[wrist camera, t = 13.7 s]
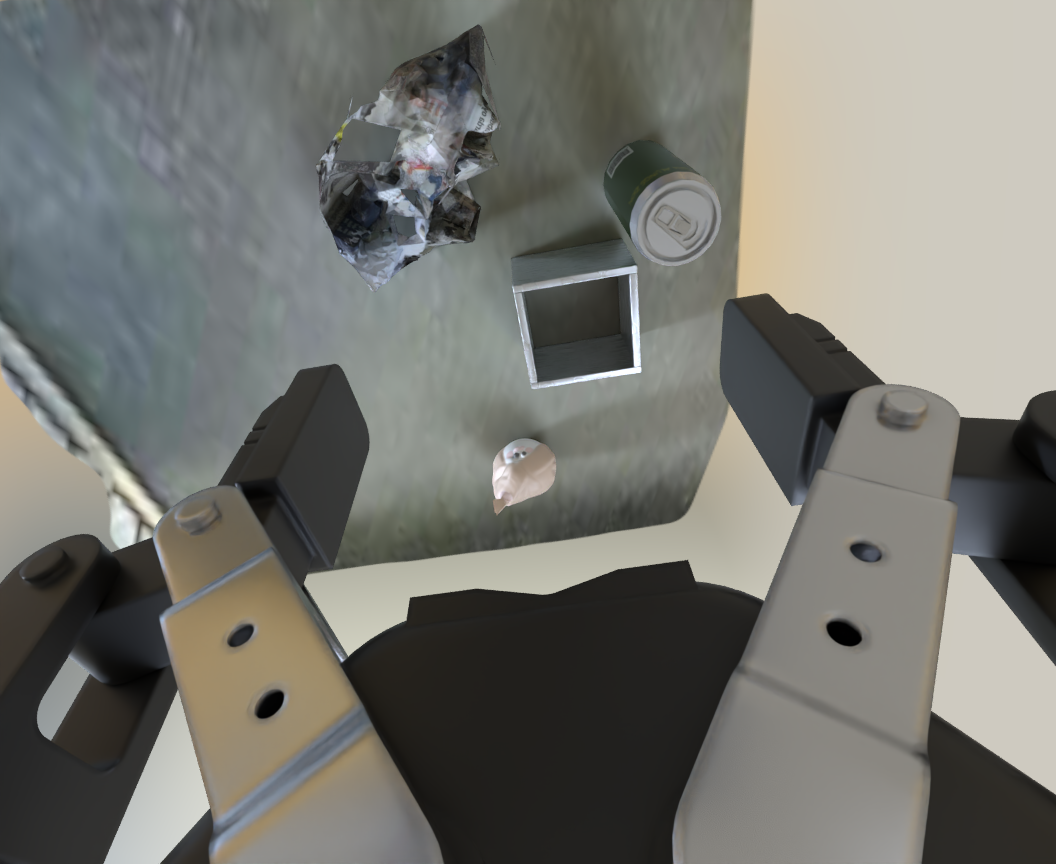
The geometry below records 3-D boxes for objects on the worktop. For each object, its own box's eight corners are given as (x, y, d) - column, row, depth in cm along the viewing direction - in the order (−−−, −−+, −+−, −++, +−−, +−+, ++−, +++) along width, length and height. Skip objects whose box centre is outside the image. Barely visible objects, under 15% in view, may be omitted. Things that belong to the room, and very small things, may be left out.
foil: (250, 143, 36) (394, 55, 26) (359, 96, 42) (506, 12, 33) (348, 300, 42) (492, 273, 33) (430, 238, 48) (570, 201, 39)
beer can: (588, 193, 41) (615, 244, 32) (628, 123, 39) (670, 155, 29) (644, 227, 43) (685, 284, 34) (687, 162, 40) (745, 205, 31)
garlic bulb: (498, 423, 54) (498, 475, 48) (559, 431, 55) (567, 484, 49) (488, 471, 58) (487, 526, 52) (546, 478, 59) (551, 533, 53)
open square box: (511, 257, 44) (512, 286, 40) (622, 238, 44) (637, 264, 39) (528, 354, 50) (531, 389, 45) (627, 338, 49) (641, 372, 44)
